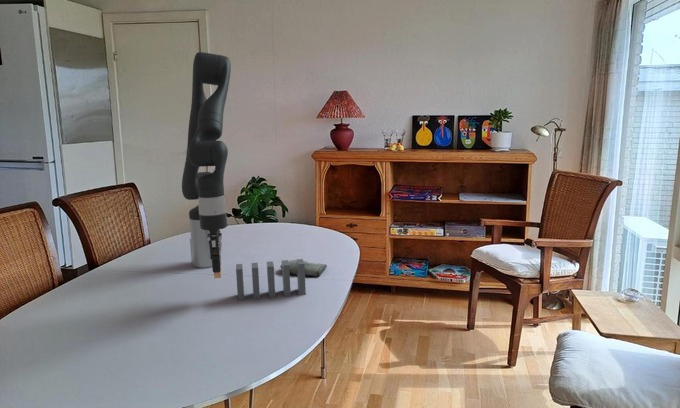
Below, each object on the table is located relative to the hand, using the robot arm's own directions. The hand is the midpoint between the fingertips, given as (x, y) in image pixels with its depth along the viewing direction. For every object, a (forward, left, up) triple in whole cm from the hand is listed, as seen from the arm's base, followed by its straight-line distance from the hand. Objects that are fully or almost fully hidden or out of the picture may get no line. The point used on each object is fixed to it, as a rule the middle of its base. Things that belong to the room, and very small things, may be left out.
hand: (217, 268), depth 146 cm
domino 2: (+4, +5, -9) cm, 11 cm away
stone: (+3, +33, -10) cm, 34 cm away
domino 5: (+13, +15, -9) cm, 22 cm away
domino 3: (+7, +8, -9) cm, 14 cm away
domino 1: (0, 0, -2) cm, 2 cm away
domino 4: (+10, +12, -9) cm, 18 cm away
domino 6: (+16, +19, -9) cm, 26 cm away
